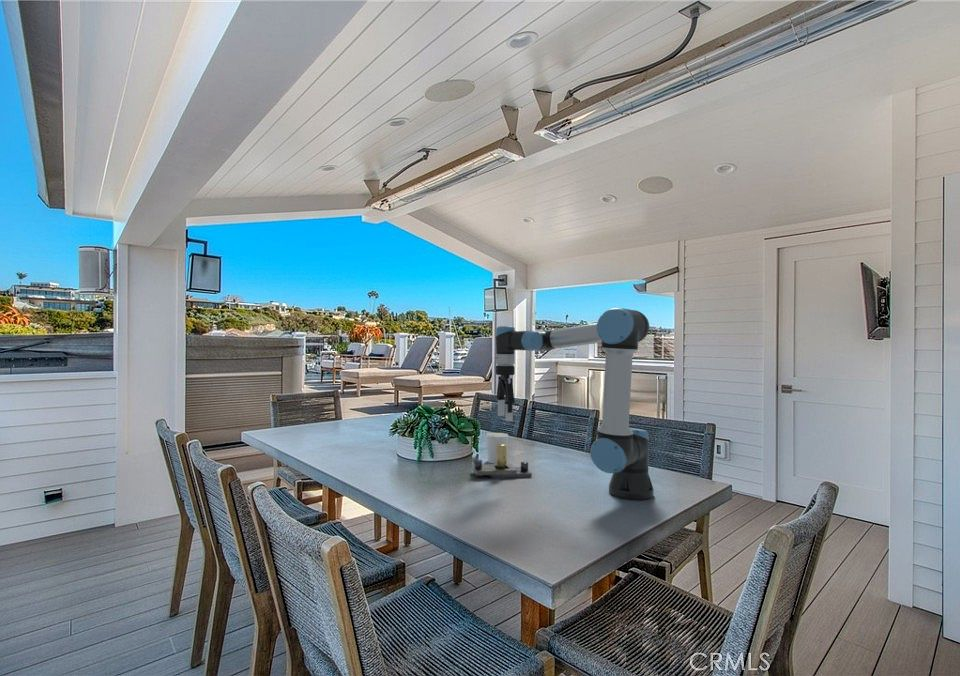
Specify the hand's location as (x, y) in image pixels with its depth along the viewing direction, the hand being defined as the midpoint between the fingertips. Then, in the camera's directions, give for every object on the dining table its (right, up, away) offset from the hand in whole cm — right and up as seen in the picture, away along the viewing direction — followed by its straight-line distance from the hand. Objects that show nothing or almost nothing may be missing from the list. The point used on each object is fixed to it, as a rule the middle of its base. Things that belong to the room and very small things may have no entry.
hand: (505, 418), depth 191 cm
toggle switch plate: (-1, -23, +1) cm, 23 cm away
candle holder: (-2, -23, +22) cm, 32 cm away
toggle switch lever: (-1, -23, +1) cm, 23 cm away
